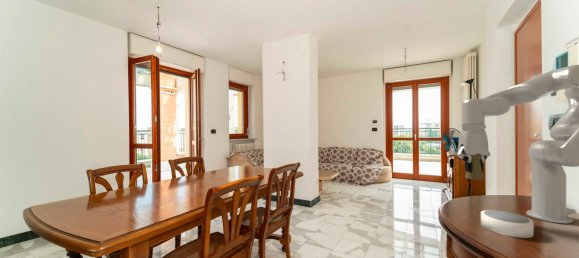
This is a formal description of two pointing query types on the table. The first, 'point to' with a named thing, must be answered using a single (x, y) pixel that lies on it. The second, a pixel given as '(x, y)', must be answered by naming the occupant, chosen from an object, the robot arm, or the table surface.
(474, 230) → the table surface
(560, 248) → the table surface
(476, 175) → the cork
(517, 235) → the podium
